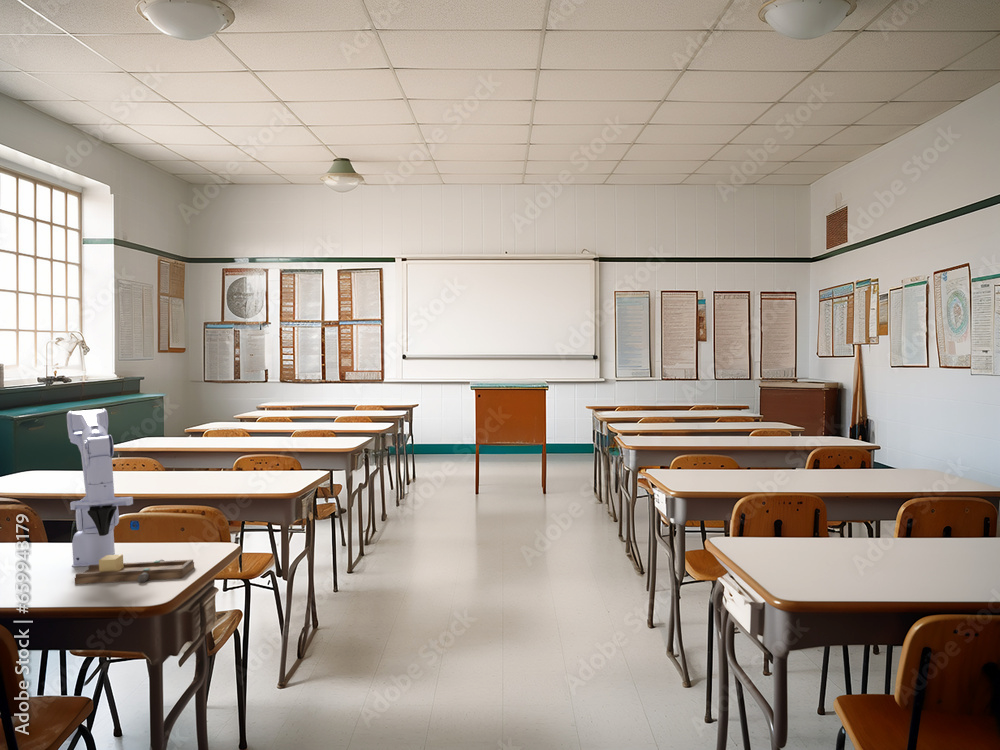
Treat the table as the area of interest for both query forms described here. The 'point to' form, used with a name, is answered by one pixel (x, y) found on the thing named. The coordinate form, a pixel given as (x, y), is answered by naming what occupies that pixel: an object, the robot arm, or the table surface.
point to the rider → (111, 563)
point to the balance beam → (137, 572)
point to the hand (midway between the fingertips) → (104, 534)
